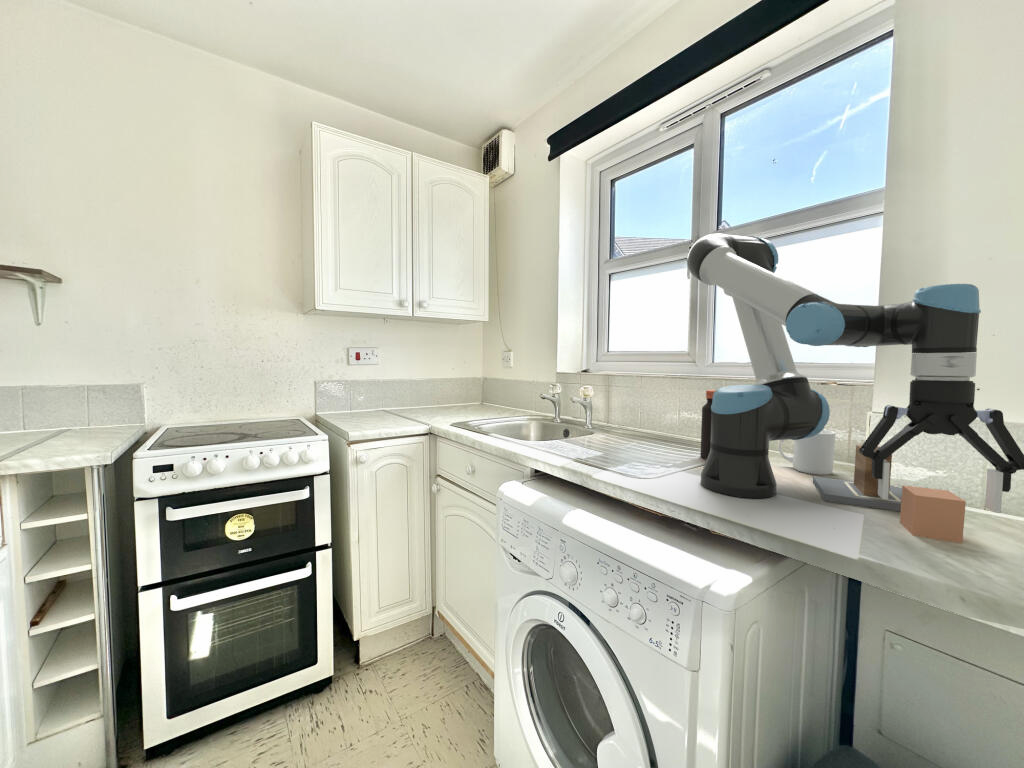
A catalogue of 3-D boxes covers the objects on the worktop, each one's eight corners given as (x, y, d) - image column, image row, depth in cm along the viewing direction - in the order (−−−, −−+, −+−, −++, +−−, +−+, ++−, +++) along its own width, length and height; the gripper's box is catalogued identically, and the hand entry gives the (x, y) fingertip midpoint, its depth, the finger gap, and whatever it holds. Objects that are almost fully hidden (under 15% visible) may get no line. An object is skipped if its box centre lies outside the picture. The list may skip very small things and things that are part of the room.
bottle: (727, 462, 116) (729, 392, 114) (700, 459, 118) (703, 391, 117) (724, 456, 122) (727, 390, 121) (699, 454, 125) (702, 389, 123)
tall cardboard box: (863, 494, 85) (866, 452, 84) (853, 484, 92) (856, 444, 91) (888, 498, 83) (892, 454, 82) (876, 487, 90) (879, 446, 89)
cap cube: (912, 535, 69) (915, 495, 69) (899, 522, 74) (902, 485, 74) (962, 543, 66) (965, 501, 66) (945, 529, 71) (948, 490, 71)
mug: (782, 462, 116) (784, 425, 115) (835, 470, 108) (837, 430, 107) (774, 468, 110) (776, 428, 109) (829, 477, 102) (832, 435, 101)
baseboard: (824, 500, 85) (824, 493, 85) (812, 482, 97) (813, 476, 97) (943, 517, 77) (943, 509, 77) (914, 495, 89) (914, 488, 89)
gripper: (852, 378, 71) (847, 498, 72) (1072, 381, 59) (1062, 524, 60) (842, 377, 78) (838, 487, 79) (1038, 379, 66) (1029, 508, 67)
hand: (935, 503), depth 69 cm, fingers open, 13 cm apart
